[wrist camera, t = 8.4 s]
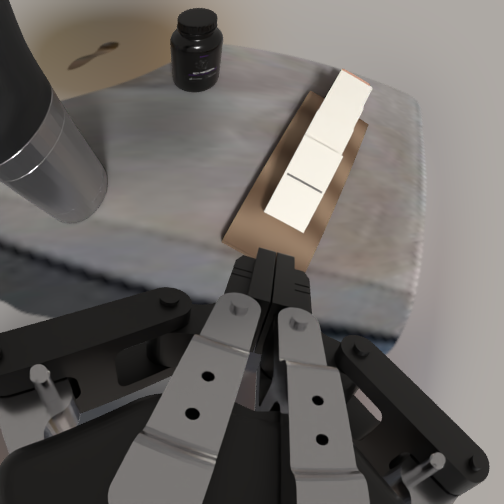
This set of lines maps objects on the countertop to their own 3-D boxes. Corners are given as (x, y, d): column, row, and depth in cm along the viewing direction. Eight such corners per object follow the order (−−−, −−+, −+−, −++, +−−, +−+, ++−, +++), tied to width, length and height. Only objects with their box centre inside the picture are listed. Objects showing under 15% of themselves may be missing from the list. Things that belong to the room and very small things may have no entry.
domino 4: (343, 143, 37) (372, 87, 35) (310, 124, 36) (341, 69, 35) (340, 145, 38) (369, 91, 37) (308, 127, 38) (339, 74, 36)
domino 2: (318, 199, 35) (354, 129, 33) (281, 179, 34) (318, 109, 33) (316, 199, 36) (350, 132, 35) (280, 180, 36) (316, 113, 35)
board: (297, 282, 35) (300, 282, 34) (221, 242, 35) (222, 240, 34) (365, 128, 41) (368, 124, 40) (307, 95, 41) (310, 90, 39)
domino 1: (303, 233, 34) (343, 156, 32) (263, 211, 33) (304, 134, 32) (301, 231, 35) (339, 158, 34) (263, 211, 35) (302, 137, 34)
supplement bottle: (201, 100, 38) (202, 38, 26) (164, 83, 38) (156, 23, 26) (228, 73, 40) (236, 13, 28) (191, 57, 39) (191, -1, 28)
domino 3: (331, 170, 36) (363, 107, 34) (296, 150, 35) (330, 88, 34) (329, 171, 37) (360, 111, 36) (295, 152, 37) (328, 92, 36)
